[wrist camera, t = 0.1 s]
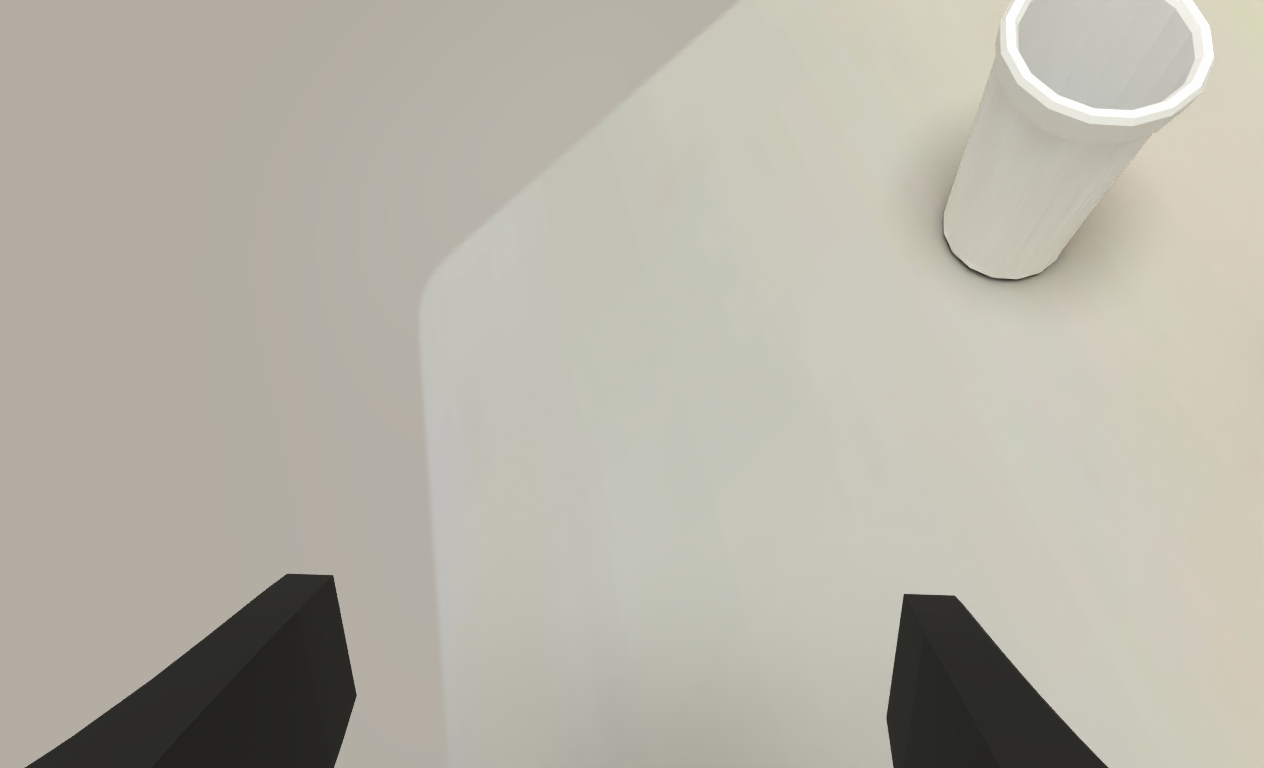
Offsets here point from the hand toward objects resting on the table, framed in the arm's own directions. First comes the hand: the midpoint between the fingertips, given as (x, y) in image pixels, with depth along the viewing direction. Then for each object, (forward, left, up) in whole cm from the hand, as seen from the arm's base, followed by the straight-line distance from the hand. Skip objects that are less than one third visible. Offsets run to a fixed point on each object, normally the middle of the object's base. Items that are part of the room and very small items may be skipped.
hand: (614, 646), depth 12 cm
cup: (+25, -17, -32) cm, 44 cm away
